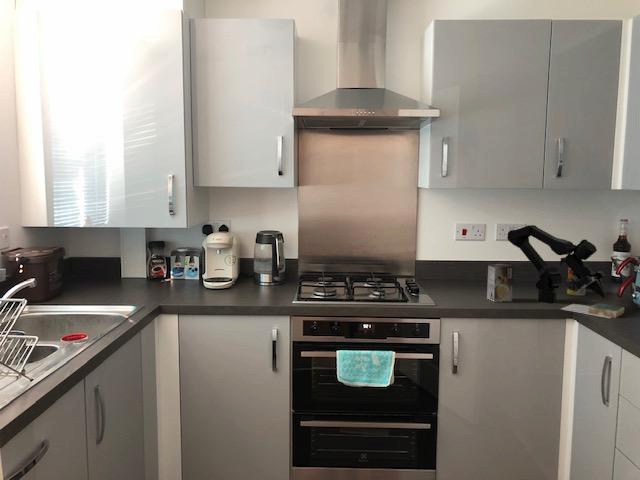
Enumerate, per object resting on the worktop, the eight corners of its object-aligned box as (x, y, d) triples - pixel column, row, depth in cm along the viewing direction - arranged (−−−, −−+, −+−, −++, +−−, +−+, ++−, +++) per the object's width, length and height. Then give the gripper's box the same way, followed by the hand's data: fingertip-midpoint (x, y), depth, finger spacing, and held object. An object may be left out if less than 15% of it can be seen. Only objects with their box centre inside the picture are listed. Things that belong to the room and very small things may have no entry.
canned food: (573, 291, 255) (575, 266, 254) (588, 294, 248) (590, 269, 247) (563, 292, 251) (564, 268, 250) (578, 296, 244) (579, 270, 243)
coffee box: (504, 298, 239) (506, 263, 237) (512, 301, 233) (514, 265, 231) (486, 299, 238) (487, 264, 236) (493, 302, 231) (495, 266, 229)
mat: (560, 310, 218) (560, 309, 218) (573, 304, 228) (573, 303, 227) (609, 319, 204) (609, 318, 204) (621, 313, 214) (621, 311, 214)
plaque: (588, 306, 211) (615, 311, 204) (597, 302, 218) (624, 307, 211) (588, 313, 212) (615, 317, 205) (597, 308, 219) (623, 313, 211)
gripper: (571, 275, 229) (597, 304, 223) (554, 281, 216) (580, 312, 210) (592, 259, 223) (618, 289, 216) (575, 264, 210) (602, 296, 203)
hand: (604, 297), depth 212 cm, fingers closed
